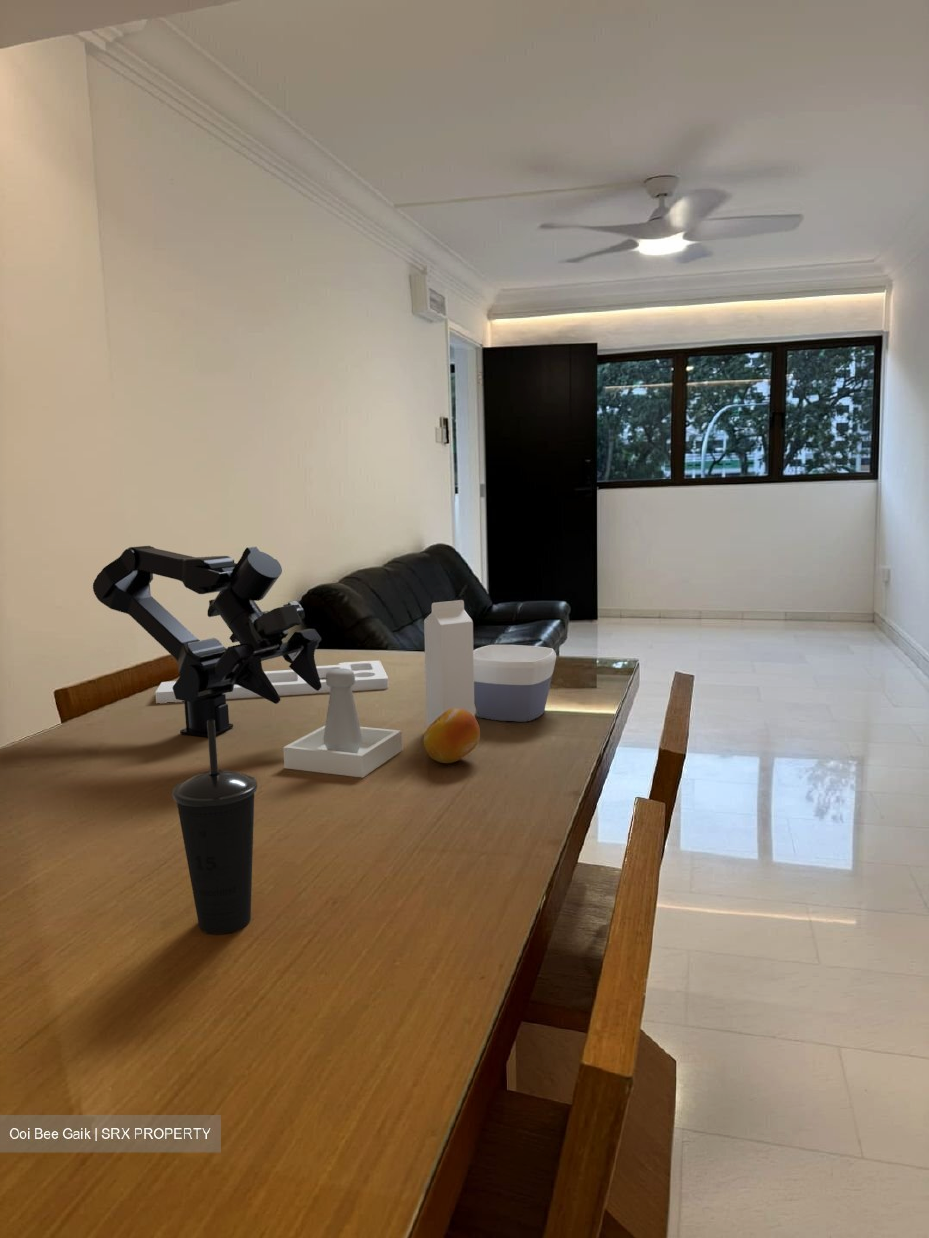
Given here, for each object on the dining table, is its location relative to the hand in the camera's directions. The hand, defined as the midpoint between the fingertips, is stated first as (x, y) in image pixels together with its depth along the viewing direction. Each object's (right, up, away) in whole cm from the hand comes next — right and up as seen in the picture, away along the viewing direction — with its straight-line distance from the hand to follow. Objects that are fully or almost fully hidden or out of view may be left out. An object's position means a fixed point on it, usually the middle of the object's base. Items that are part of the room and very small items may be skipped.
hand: (299, 695), depth 134 cm
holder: (-14, -3, +45) cm, 47 cm away
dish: (+7, -9, -3) cm, 12 cm away
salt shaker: (+7, -9, -3) cm, 12 cm away
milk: (+23, -7, +10) cm, 26 cm away
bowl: (+34, -5, +20) cm, 40 cm away
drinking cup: (+2, -17, -51) cm, 54 cm away
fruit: (+24, -10, -5) cm, 26 cm away
